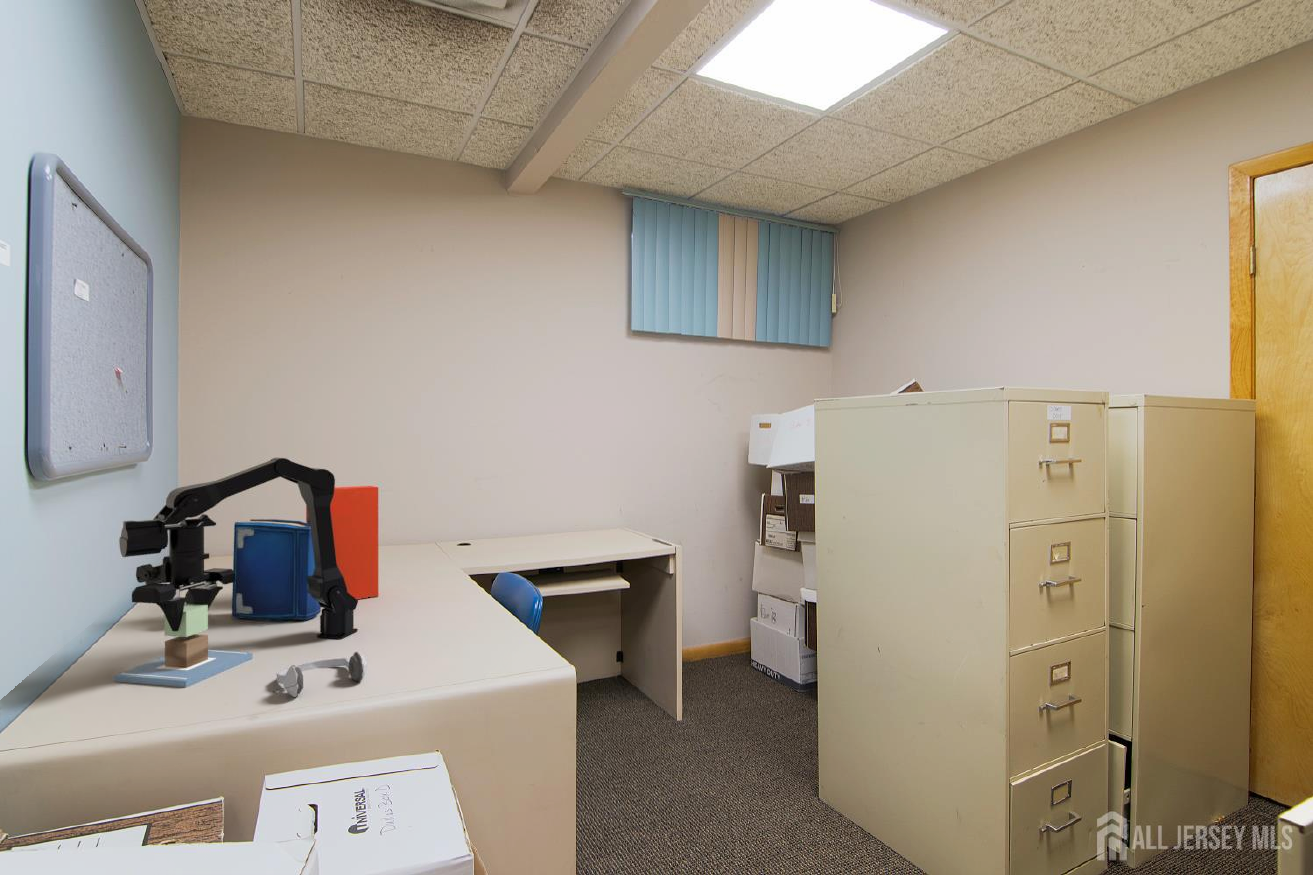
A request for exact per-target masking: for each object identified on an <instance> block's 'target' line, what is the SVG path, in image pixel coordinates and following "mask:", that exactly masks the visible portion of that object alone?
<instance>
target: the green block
mask: <svg viewBox="0 0 1313 875" xmlns="http://www.w3.org/2000/svg"><path fill="white" fill-rule="evenodd" d="M208 613H209V609H208V605H197V604H186V603H185V605H184V610H183V615H182V620H181V624H180V627H179V630H178V631H172V629H171V627H170V625H169V623H168V621H167V618H166V616H165V615H164V637H165V636H167V637H169V636H170V637H188V636H191V635H193V634H199V633H201V632H205V631H208V630H209V614H208Z"/></svg>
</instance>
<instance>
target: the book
mask: <svg viewBox="0 0 1313 875" xmlns="http://www.w3.org/2000/svg"><path fill="white" fill-rule="evenodd" d="M233 527H234V528H233V530H234V531H233V560H232V562H233V564H232V566H233V567H232V570H233V571H234V572H235V582H233V583H232V595H231V596H232V597H231V598H232V600H231V602H232V603H231V617H232V618H239V619H246V620H248V619H249V620H254V621H255V620H256V621H273V622H275V621H277V622H284V621H290V620H298V621H306V620H310V619H314V618H315V617H317V615H319V614H320V613H322V607H320V606H319V603H318V601H316V600H314V599H313V598H312V596H311V594H310V593H307V591H308V582H307V579H306V577H307V576H312V575H313V572H314V569H315V562H314V553H313V545H312V536H311V528H310V524H307V523H306V522H303V521H300V520H290V519H289V520H288V519H276V518H275V519H274V518H273V519H272V518H271V519H270V518H269V519H264V518H263V519H260V518H259V519H255V518H253V519H250V520H242V521H240V522H239V521H237V522H236V521H235V522H234V526H233Z"/></svg>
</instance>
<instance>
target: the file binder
mask: <svg viewBox="0 0 1313 875" xmlns="http://www.w3.org/2000/svg"><path fill="white" fill-rule="evenodd" d="M305 505H306V504H305ZM330 509H331V517H332V526H333V535H334V543H335V552H336V561H337V566H338V568H339V570H340V571H341V573H342V575H343V577H344V580H345V583H346V586H347V590H348V593H349V594H350V595H352V596H353V597H354V598H356V599H357V600H362V598H364V599H369V598H368V597H370V598H376V596H377V597H379V487H378V486H374V485H360V486H359V485H358V486H357V485H356V486H340V487H339V486H335V489H334V496H333V499H332V502H331V505H330ZM305 510H306V511H305V512H306V513H305V515H306V519H305V520H306V522H305V523H307V524H310V520H309V511H308V507H307V505H306V507H305Z"/></svg>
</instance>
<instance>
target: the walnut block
mask: <svg viewBox="0 0 1313 875" xmlns="http://www.w3.org/2000/svg"><path fill="white" fill-rule="evenodd" d="M208 650H209V634H199V633H196V634H193V635H191V636H188V637H179V636H175V637H173V638H170V639H167V640H165V641H164V657H165V666H167V667H180V668H188V667H190V666H193V665H195V664H198V663H200V662H203V661H205V660H208Z"/></svg>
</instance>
